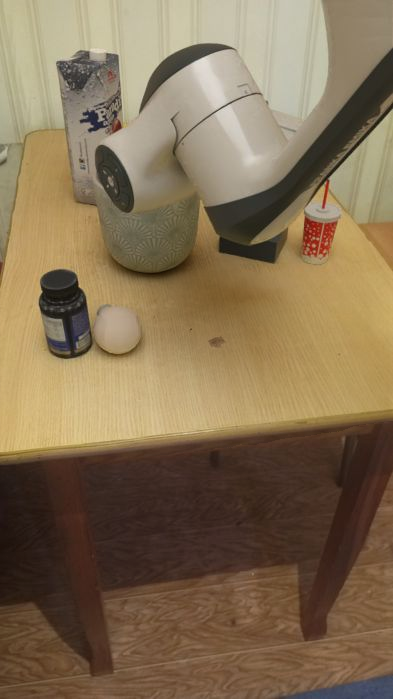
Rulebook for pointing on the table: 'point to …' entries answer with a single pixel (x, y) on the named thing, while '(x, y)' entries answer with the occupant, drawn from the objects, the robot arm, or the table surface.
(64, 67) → the juice carton
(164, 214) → the planter
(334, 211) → the beverage cup
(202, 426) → the table surface
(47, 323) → the pill bottle
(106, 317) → the light bulb
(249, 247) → the dark rectangular box
